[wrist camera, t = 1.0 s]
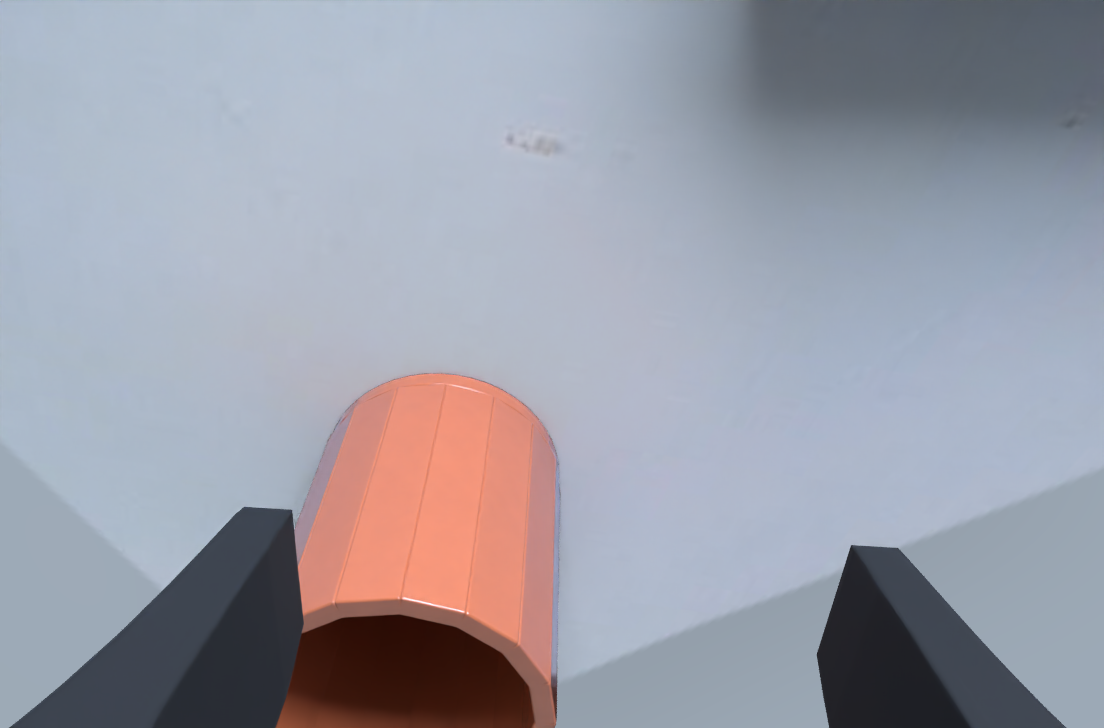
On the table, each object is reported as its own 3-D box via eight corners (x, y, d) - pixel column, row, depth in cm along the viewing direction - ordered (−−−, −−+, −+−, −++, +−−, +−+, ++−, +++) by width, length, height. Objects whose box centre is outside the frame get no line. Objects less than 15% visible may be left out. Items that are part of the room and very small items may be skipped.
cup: (606, 459, 22) (619, 701, 16) (467, 587, 25) (433, 841, 19) (415, 328, 20) (351, 547, 14) (285, 480, 23) (183, 722, 17)
